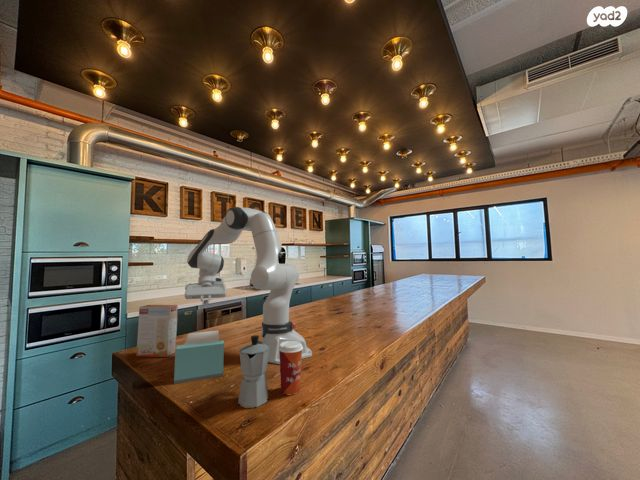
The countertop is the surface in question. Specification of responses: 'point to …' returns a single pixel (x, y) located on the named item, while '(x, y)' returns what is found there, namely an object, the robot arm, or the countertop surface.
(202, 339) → the stone slab
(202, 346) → the rectangular block
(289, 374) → the paper cup
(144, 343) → the cracker box
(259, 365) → the coffee maker
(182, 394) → the countertop surface
